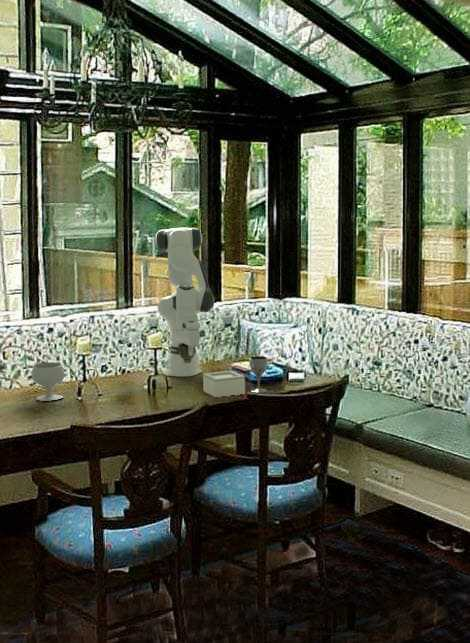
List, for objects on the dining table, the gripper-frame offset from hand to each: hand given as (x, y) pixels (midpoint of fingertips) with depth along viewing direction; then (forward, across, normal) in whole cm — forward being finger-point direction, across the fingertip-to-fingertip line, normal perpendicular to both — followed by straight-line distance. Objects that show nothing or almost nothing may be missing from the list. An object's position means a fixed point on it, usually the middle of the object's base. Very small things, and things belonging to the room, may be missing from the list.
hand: (187, 353), depth 385 cm
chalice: (+19, -22, -56) cm, 63 cm away
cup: (+4, 0, 0) cm, 4 cm away
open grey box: (+18, +3, +16) cm, 25 cm away
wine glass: (+18, +6, +31) cm, 37 cm away
